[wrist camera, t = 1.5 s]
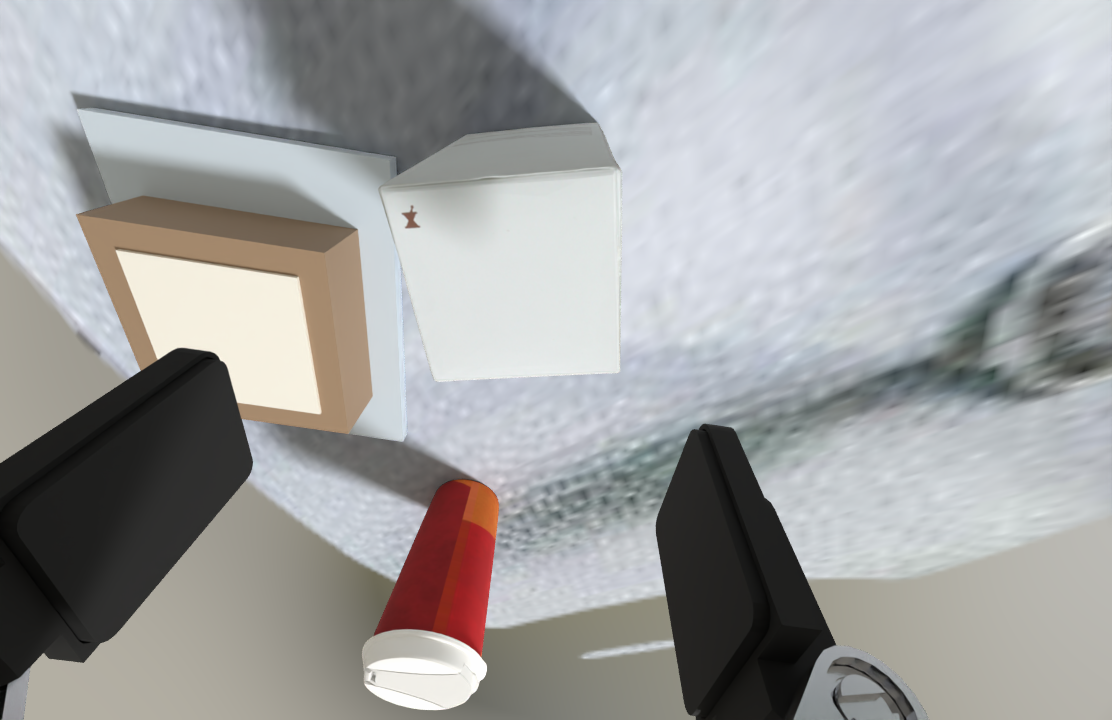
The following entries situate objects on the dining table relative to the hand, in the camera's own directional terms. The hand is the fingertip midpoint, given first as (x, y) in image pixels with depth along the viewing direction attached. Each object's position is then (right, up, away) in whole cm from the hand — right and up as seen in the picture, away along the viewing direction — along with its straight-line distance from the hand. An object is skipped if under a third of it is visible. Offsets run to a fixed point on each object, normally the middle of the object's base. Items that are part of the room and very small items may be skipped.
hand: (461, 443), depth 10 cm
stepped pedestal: (-16, +6, +20) cm, 27 cm away
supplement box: (+1, +11, +16) cm, 20 cm away
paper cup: (-6, -10, +30) cm, 32 cm away
